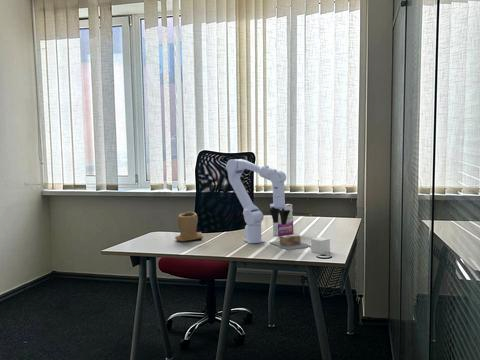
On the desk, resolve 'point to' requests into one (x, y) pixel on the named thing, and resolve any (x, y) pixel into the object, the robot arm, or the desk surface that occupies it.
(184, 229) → the stone cup
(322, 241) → the white cube
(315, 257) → the desk surface
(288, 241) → the brown box with strip
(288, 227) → the candy bar box
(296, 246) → the rubber mat
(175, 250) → the desk surface
